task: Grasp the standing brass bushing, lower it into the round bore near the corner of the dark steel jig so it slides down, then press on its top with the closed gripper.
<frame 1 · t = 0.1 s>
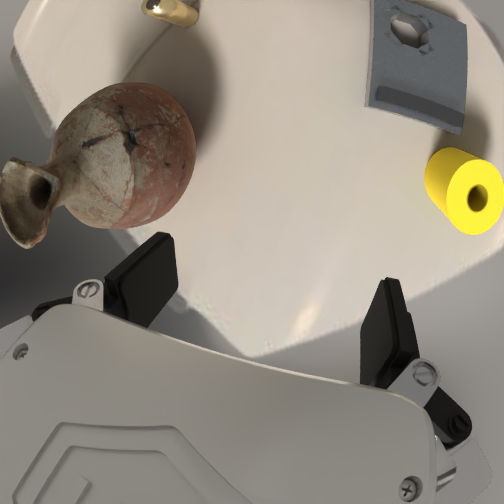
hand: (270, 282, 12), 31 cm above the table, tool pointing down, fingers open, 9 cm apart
bushing: (187, 17, 30), on the table
yellow hollow cylinder: (451, 178, 32), on the table
jug: (162, 143, 43), on the table
jig: (415, 63, 25), on the table
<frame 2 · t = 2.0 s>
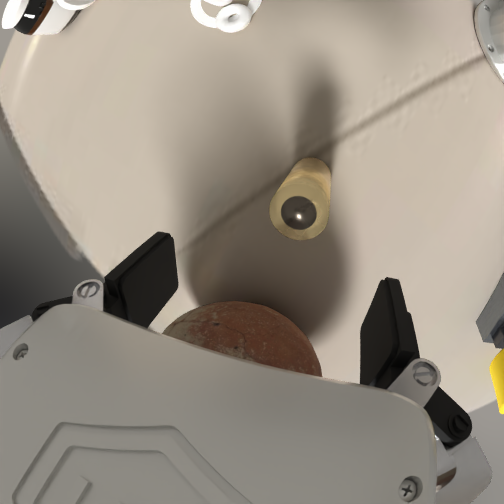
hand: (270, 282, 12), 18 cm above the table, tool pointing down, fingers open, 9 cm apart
bushing: (311, 176, 26), on the table
teacup and saucer: (209, 19, 20), on the table
jug: (256, 328, 39), on the table
spread jar: (79, 2, 19), on the table
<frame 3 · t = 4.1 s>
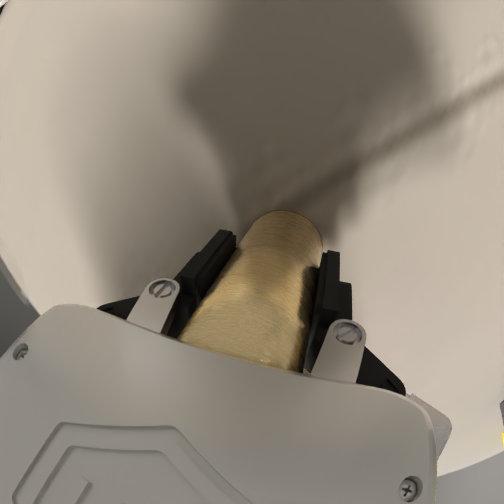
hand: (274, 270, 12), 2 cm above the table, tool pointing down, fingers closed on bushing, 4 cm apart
bushing: (284, 246, 14), on the table, touching gripper
spread jar: (3, 2, 8), on the table
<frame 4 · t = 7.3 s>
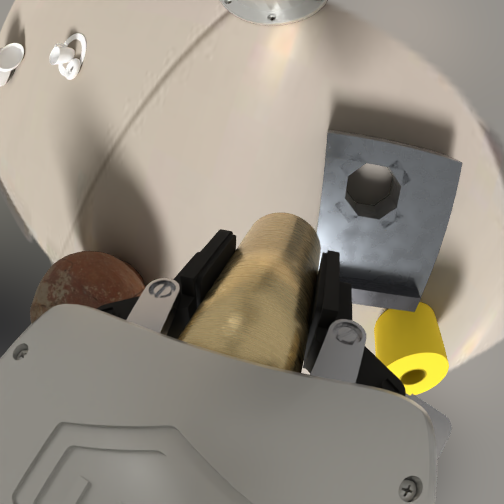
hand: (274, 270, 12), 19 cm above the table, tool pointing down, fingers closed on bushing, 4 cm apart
bushing: (283, 248, 14), point 17 cm above the table, touching gripper
yellow hollow cylinder: (405, 325, 35), on the table
teacup and saucer: (67, 70, 29), on the table
jug: (126, 281, 47), on the table
spread jar: (15, 60, 28), on the table
jig: (379, 217, 29), on the table
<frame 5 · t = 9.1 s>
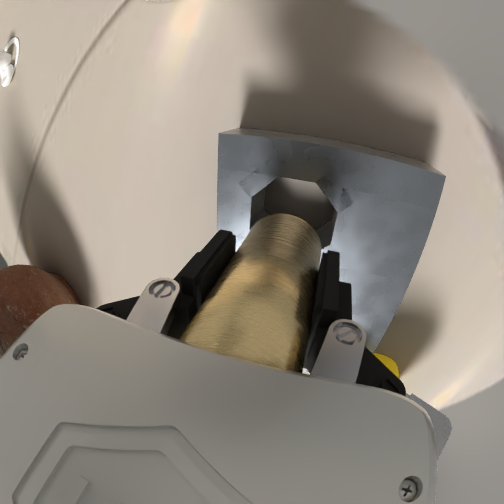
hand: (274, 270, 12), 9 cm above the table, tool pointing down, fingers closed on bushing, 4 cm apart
bushing: (283, 248, 14), point 7 cm above the table, touching gripper
teacup and saucer: (7, 76, 21), on the table
jug: (64, 294, 39), on the table
jig: (316, 250, 22), on the table
when the fingers open (5 cm above the table, at t = 10.5 s): bushing drops 2 cm, resting in jig.
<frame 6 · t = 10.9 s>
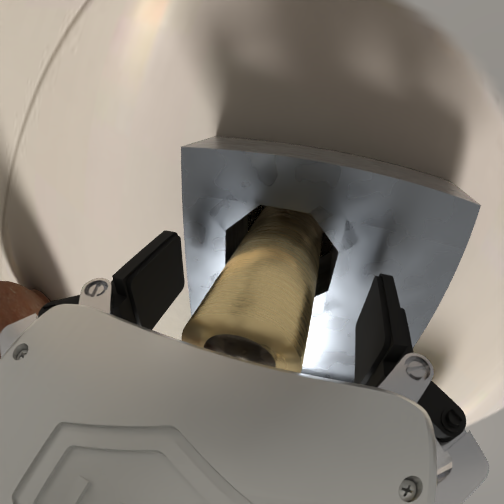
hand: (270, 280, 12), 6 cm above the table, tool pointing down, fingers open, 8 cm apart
bushing: (290, 228, 16), resting in jig
jug: (48, 310, 36), on the table
jig: (311, 286, 18), on the table
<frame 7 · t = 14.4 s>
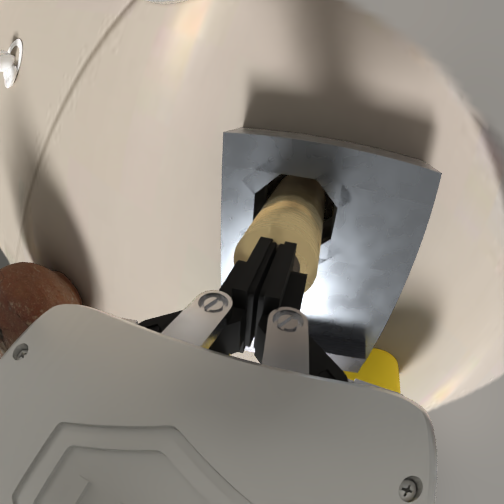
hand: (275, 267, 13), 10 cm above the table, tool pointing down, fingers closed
bushing: (299, 198, 21), resting in jig, touching gripper
yellow hollow cylinder: (359, 371, 29), on the table
teacup and saucer: (10, 77, 22), on the table
jug: (67, 292, 40), on the table
jig: (317, 246, 23), on the table
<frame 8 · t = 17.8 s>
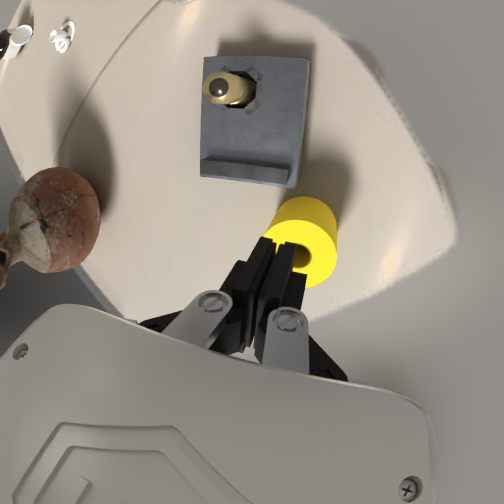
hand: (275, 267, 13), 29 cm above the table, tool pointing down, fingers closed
bushing: (245, 91, 34), resting in jig
yellow hollow cylinder: (305, 225, 43), on the table
teacup and saucer: (61, 47, 35), on the table
jug: (87, 201, 53), on the table
spread jar: (24, 39, 34), on the table
jig: (257, 117, 36), on the table
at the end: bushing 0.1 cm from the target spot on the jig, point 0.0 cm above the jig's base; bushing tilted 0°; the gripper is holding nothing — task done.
